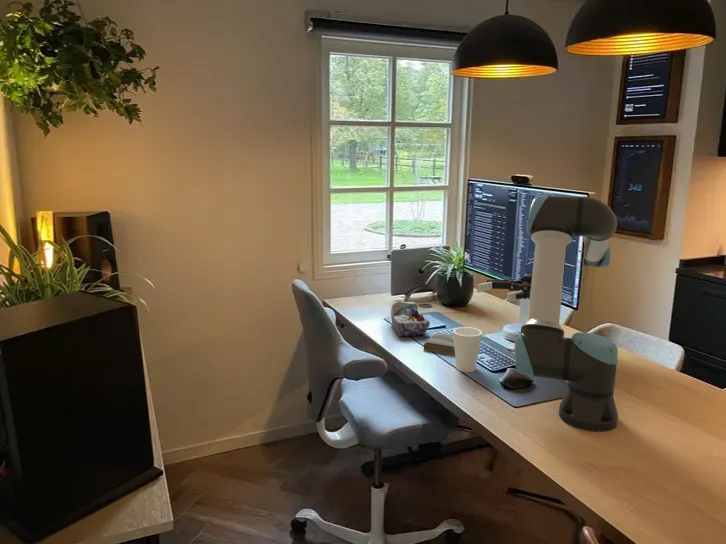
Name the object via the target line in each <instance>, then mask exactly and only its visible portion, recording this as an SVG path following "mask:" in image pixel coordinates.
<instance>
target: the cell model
mask: <svg viewBox="0 0 726 544" xmlns="http://www.w3.org/2000/svg"><path fill="white" fill-rule="evenodd" d="M390 317H391V323H392V327H393V328H394V332H395V333H396V334H397V335H398V336H399V337H415V336H422V335H425V334H426V332H427V330H428V329H429V328H430V321H429V319H427V318H425V317H424V315H423V314H421V313H419V311H418V304H417V303H416V302H414V301H395V302H393V303H392V305H391V310H390Z"/></svg>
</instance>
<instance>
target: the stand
mask: <svg viewBox="0 0 726 544" xmlns="http://www.w3.org/2000/svg"><path fill="white" fill-rule="evenodd" d="M423 351H426V352H431V353H432V352H433V353H437V354H444V355H449V356H454V357H455V348H454V339H453V334H449V333H443V332H438V331H437V332H435V333H434V334H433V335H432V336H431V337H430V338H429V339H427V340H426V342H425V343H423Z"/></svg>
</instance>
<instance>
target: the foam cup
mask: <svg viewBox="0 0 726 544" xmlns="http://www.w3.org/2000/svg"><path fill="white" fill-rule="evenodd" d="M452 335H453V339H454V348H455V356H454V357H455V367H456V368H455V369H457V371H460V372H462V373H471V372H472V373H473V372H474V371H476V368H477V363H478V358H479V357H478V356H479V353H480V352H479V351H480V348H481V343H482V339H483V338H482V337H483V331H482V330H480V329H479V328H475V327H470V326H462V327H461V326H460V327H456V328H453V331H452Z"/></svg>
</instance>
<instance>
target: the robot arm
mask: <svg viewBox="0 0 726 544" xmlns="http://www.w3.org/2000/svg"><path fill="white" fill-rule="evenodd" d="M617 226H618V220H617V216H616V214H615V213H614V212H613V209H612V208H611V207H610V206H609V205H608V204H607V203H605V202H603V201H601V200H599V199H597V198H595V197H590V196H573V195H571V196H570V195H569V196H567V195H552V194H547V195H537V196H535V197H534V198H533V200H532V203H531V205H530V209H529V212H528V217H527V223H526V232H527V234H529V235H530V239H531V241H532V242H533V243H534V244H535V246H534V247H535V248H534V256H533V264H532V265H533V266H532V273H530V274H525V275H522V277H521V279H516V280H515V279H513V278H506V279H505V278H503V279H499V278H498V279H486V282H484V283H483V282H482V283H478V284H476V285H477V286H476V293H481V292H483V293H484V292H487V291H489V292H490V291H492V290H495V289H496V290H508V291H511V292H507V293H506V295H507V296H506V302H508V303H510V302H514V301H515V302H516V301H517V300H522V299H523V300H527V299H528V300H529V302H528V303H529V304H528V312H527V320H526V321H525V322H524V323H523V324H522V325H521V326H520V331H516V332H514V333H515V334H514V360H515V368H516V372H517V373H519V374H521V375H525V376H529V377H530V376H531V377H532V378H535V377H537V378H543V379H544V378H545V379H549V380H550V379H551V380H559V381H565V382H567V383H568V384H567V389H566V391H565V393H564V396H563V398H562V399H561V401H560V404H559V407H558V416H559V418H560V419H561V420H562V421H563V422H564V423H566V424H568V425H570V426H571V427H574V428H577V429H580V430H585V431H589V432H590V431H592V432H607V431H610V430H613V429H615V428H616V427H617V425H618V423H619V422H618V420H619V414H618V409H617V405H616V402H615V401H616V400H615V397H614V391H615V385H616V384H615V382H616V374H617V365H618V363H619V359H618V357H619V356H618V353H619V348H618V346H617V345H616V344H615V342H613V341H612V340H610V339H609V338H607V337H605V336H602V335H599V334H595V333H591V332H586V331H585V332H575V333H574V334H573V335H572V336H571V337H565V329H563V328H562V327H561V325H560V320H561V319H560V318H561V306H562V294H563V288H562V286H563V275H564V264H565V252H566V246H567V245H568V244H572V243H573V242H572V241H573V237H583V241H582V242H584V245H585V248H586V252H585V259H584V266H583V267H591V268H608V267H609V266H610V262H611V255H612V254H611V253H612V252H611V251H612V250H611V247H610V246H608V244H609V242H610V239H611V238H612V237H613V236H614V234H615V233H616V232H617V231H616V230H617Z"/></svg>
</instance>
